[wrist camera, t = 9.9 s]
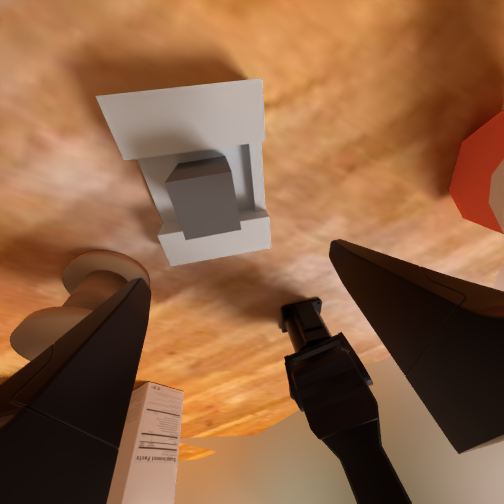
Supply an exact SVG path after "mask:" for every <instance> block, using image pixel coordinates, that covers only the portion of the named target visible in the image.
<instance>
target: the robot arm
mask: <svg viewBox="0 0 504 504" xmlns="http://www.w3.org/2000/svg"><path fill="white" fill-rule="evenodd" d="M329 258H330V260H331V262H332V264H333V266H334V268H335V270H336V272H337V274H338V276H339V277H340V279H341V281H342V283H343V285H344V286H345V288H346V289H347V291H348V292H349V294H350V295H351V297H352V298H353V300H354V301H355V302H356V304H357V305H358V307H359V308H360V310H361V311H362V313H363V314H364V316H365V317H366V319H367V320H368V322H369V323H370V325H371V326H372V328H373V329H374V331H375V332H376V333H377V335H378V336H379V338H380V339H381V341H382V342H383V344H384V345H385V347H386V348H387V350H388V351H389V353H390V354H391V356H392V357H393V359H394V360H395V362H396V363H397V365H398V366H399V367H400V369H401V370H402V372H403V373H404V375H406V378H407V379H408V381H409V382H410V384H411V385H412V387H413V388H414V390H415V391H416V393H417V394H418V396H419V397H420V399H421V400H422V402H423V403H424V404H425V406H426V408H427V409H428V411H429V412H430V413H431V415H432V416H433V418H434V419H435V421H436V422H437V424H438V425H439V427H440V428H441V430H442V431H443V433H444V434H445V436H446V437H447V438H448V440H449V442H450V443H451V444H452V446H453V447H454V449H455V450H456V451H457V452H458V454H461V453H465V452H468V451H471V450H475V449H478V448H482V447H485V446H488V445H492V444H495V443H498V442H502V441H504V292H503V291H500V290H496V289H493V288H489V287H486V286H483V285H479V284H476V283H472V282H469V281H465V280H462V279H458V278H455V277H452V276H448V275H445V274H442V273H439V272H436V271H433V270H430V269H427V268H424V267H419V266H418V265H415V264H412V263H409V262H406V261H403V260H400V259H397V258H394V257H391V256H388V255H385V254H383V253H380V252H377V251H374V250H371V249H368V248H365V247H362V246H359V245H356V244H353V243H350V242H347V241H344V240H341V239H338V240H333V241H332V242H331V244H330V251H329ZM150 301H151V290H150V288H149V287H148V285H147V283H146V281H145V280H144V279H143V278H142V277H140V278H135V279H132V280H130V281H129V282H128V283H127V284H126V285H124V286H123V287H122V288H121V289H119V290H118V291H117V292H116V293H114V294H113V295H112V296H111V297H110V298H108V299H107V300H106V301H105V302H103V303H102V304H101V305H100V306H98V307H97V308H96V309H95V310H94V311H92V312H91V313H90V314H89V315H87V316H86V317H85V318H84V319H82V320H81V321H80V322H79V323H78V324H76V325H75V326H74V327H73V328H71V329H70V330H69V331H68V332H66V333H65V334H64V335H63V336H62V337H60V338H59V339H58V340H57V341H55V342H54V344H52V345H50V346H49V347H48V348H47V349H45V350H44V351H43V352H42V353H41V354H39V355H38V356H37V357H36V358H34V359H33V360H32V361H30V362H29V363H28V364H27V365H25V366H24V367H23V368H22V369H20V370H19V371H18V372H16V373H15V374H14V375H12V376H11V377H10V378H8V379H7V380H6V381H4V382H3V383H2V384H0V504H107V500H108V495H109V491H110V487H111V482H112V478H113V474H114V470H115V465H116V461H117V457H118V452H119V447H120V443H121V439H122V434H123V430H124V426H125V421H126V417H127V413H128V408H129V404H130V400H131V396H132V391H133V387H134V383H135V378H136V374H137V370H138V365H139V361H140V357H141V352H142V348H143V344H144V340H145V335H146V331H147V326H148V320H149V311H150ZM321 306H322V301H321V299H315V300H310V301H306V302H301V303H296V304H292V305H287V306H283V307H282V308H281V329H282V332H283V333H285V332H288V334H289V336H290V339H291V342H292V345H293V347H294V350H295V353H294V354H291V355H289V356H288V355H287V356H285V357H284V358H285V367H286V371H287V376H288V381H289V391H290V396H291V398H292V399H293V400H295V401H296V403H297V405H298V407H299V408H300V410H301V411H302V412H303V411H304V412H305V415H306V417H307V420H308V423H309V426H310V429H311V430H312V431H313V433H314V434H315V435H316V436H317V438H318V439H320V440H322V441H323V442H324V443H325V444H326V445H327V446H328V447H329V449H330V450H331V451H332V452H333V453H334V454H335V455H336V456H337V457H338V458H339V459H340V461H341V464H342V466H343V468H344V471H345V474H346V476H347V479H348V481H349V484H350V486H351V489H352V491H353V494H354V496H355V499H356V502H357V504H412V502H411V500H410V499H409V497H408V495H407V493H406V491H405V489H404V487H403V485H402V483H401V482H400V480H399V478H398V476H397V474H396V472H395V470H394V468H393V466H392V464H391V462H390V460H389V458H388V457H387V455H386V453H385V451H384V449H383V447H382V443H381V434H380V423H379V412H378V404H377V401H376V399H375V397H374V396H373V394H372V392H371V390H370V388H369V387H368V386H371V385H373V382H372V380H371V378H370V376H369V374H368V372H367V371H366V369H365V367H364V365H363V364H362V362H361V361H360V359H359V357H358V356H357V354H356V353H355V351H354V350H353V348H352V347H351V345H350V344H349V342H348V341H347V339H346V338H345V336H344V335H343V333H342V332H340V333H338V335H335V336H333V337H332V335H331V334H330V332H329V330H328V328H327V326H326V325H325V323H324V321H323V319H322V318H321V316H320V312H321Z"/></svg>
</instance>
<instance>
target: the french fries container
mask: <svg viewBox="0 0 504 504" xmlns="http://www.w3.org/2000/svg"><path fill="white" fill-rule="evenodd" d="M448 191H449V192H450V194H451V196H452V198H453V200H454V202H455V204H456V206H457V208H458V209H459V211H460V213H461V215H462V217H463V218H464V219H467V220H469V221H472V222H474V223H477V224H479V225H482V226H484V227H487V228H489V229H492V230H494V231H497V232H499V233H502V234H504V110H503V111H501V112H500V113H498V114H497V115H496V116H494V117H493V118H492V119H491V120H489V121H488V122H487V123H486V124H484V125H483V126H482V127H480V128H479V129H478V130H477V131H475V132H474V133H473V134H472V135H470V136H469V137H468V138H466V139H465V140H464V141H463V142H462V144H461V147H460V151H459V155H458V158H457V162H456V165H455V169H454V172H453V176H452V179H451V183H450V187H449V190H448Z"/></svg>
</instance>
